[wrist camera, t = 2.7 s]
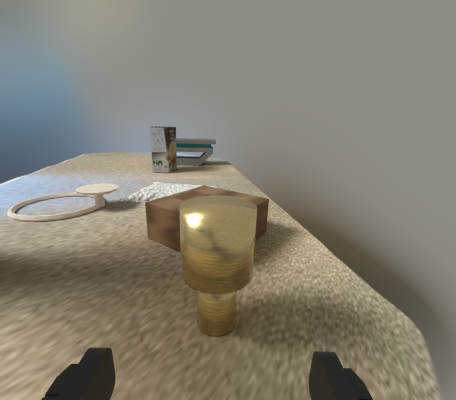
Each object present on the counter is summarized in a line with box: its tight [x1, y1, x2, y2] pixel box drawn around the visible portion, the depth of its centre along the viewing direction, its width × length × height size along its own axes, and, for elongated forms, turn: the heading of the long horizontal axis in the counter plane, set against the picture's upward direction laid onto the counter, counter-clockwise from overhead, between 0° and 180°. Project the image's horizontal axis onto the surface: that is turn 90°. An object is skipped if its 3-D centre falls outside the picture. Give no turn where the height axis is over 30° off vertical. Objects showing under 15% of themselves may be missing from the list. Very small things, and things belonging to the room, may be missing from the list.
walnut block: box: [145, 185, 269, 252], centre depth 39 cm, size 14×14×6 cm
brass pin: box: [179, 195, 257, 336], centre depth 21 cm, size 6×6×12 cm
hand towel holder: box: [7, 184, 118, 222], centre depth 51 cm, size 17×4×21 cm
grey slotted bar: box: [176, 138, 216, 166], centre depth 106 cm, size 25×8×11 cm, turn 96°
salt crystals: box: [120, 182, 217, 203], centre depth 62 cm, size 20×20×2 cm
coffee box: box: [150, 127, 177, 173], centre depth 89 cm, size 9×6×16 cm
